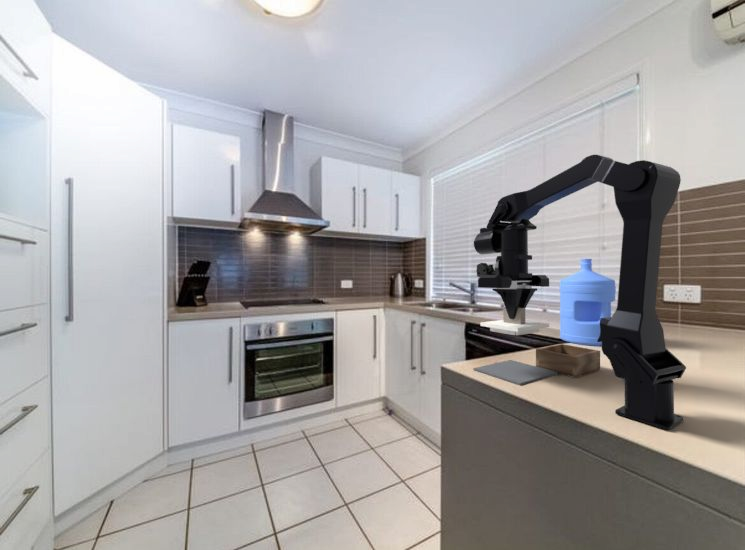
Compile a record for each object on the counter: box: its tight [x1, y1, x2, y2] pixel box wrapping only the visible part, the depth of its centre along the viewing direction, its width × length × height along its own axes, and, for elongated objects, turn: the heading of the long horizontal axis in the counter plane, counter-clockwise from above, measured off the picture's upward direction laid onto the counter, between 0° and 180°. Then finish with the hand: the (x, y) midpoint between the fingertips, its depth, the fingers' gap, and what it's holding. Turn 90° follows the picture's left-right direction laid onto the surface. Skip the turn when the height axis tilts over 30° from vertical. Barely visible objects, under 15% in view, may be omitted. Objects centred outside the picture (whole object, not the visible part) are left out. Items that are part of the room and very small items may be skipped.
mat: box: [473, 359, 559, 386], centre depth 71 cm, size 14×12×1 cm
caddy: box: [535, 343, 601, 378], centre depth 73 cm, size 11×9×4 cm
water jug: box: [559, 258, 617, 347], centre depth 104 cm, size 16×16×28 cm
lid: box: [480, 306, 550, 336], centre depth 71 cm, size 12×10×6 cm
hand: (514, 318), depth 71 cm, fingers closed on lid
